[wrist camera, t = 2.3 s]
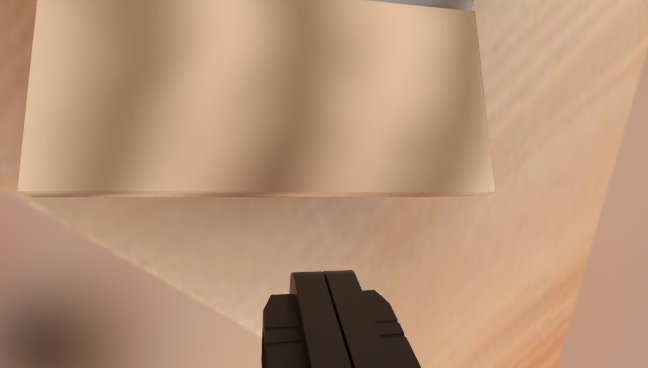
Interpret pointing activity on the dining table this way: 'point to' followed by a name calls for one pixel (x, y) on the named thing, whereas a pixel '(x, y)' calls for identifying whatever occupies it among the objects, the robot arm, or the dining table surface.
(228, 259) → the dining table surface
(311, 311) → the robot arm
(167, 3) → the plank
